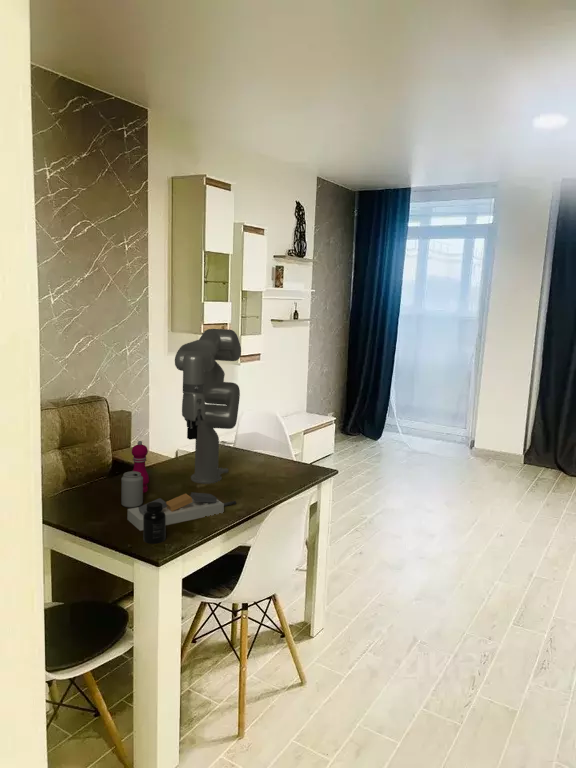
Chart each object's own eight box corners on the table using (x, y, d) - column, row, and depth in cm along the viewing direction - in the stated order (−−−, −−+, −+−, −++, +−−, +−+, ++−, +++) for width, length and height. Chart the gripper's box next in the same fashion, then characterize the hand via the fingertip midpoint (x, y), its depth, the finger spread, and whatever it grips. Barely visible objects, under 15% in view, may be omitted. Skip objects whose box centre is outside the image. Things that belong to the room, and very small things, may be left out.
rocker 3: (209, 498, 215) (210, 493, 215) (215, 502, 212) (217, 497, 212) (190, 497, 211) (191, 492, 211) (196, 501, 207) (197, 496, 207)
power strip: (227, 500, 226) (228, 489, 225) (242, 510, 217) (243, 498, 216) (127, 520, 203) (127, 507, 202) (139, 531, 194) (140, 518, 194)
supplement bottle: (167, 537, 192) (168, 501, 190) (162, 546, 185) (163, 509, 183) (146, 535, 192) (146, 499, 190) (140, 544, 185) (140, 507, 183)
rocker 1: (161, 502, 204) (160, 497, 204) (167, 506, 201) (165, 502, 200) (139, 512, 200) (138, 507, 200) (144, 516, 196) (143, 511, 196)
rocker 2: (186, 497, 210) (185, 493, 209) (192, 502, 206) (191, 497, 206) (165, 507, 206) (164, 502, 205) (171, 511, 202) (170, 506, 201)
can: (145, 507, 216) (145, 475, 214) (124, 510, 212) (124, 477, 210) (139, 500, 222) (139, 469, 220) (119, 503, 218) (119, 471, 216)
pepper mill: (125, 491, 230) (125, 441, 227) (138, 486, 237) (138, 437, 234) (140, 495, 227) (140, 444, 224) (152, 490, 234) (153, 440, 230)
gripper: (212, 391, 209) (211, 442, 212) (193, 384, 221) (192, 433, 224) (193, 392, 205) (192, 444, 208) (174, 385, 217) (173, 435, 220)
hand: (192, 438), depth 216 cm, fingers closed
